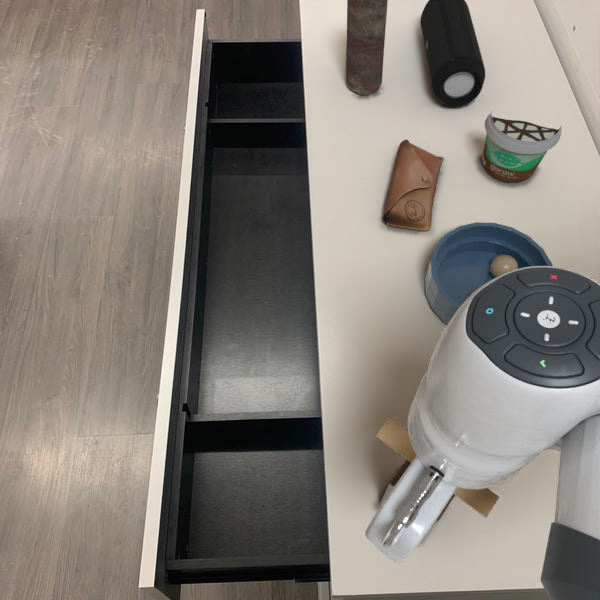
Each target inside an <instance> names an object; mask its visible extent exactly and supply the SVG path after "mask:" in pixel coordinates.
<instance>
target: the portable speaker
mask: <svg viewBox="0 0 600 600" xmlns="http://www.w3.org/2000/svg"><path fill="white" fill-rule="evenodd" d="M419 20H420V21H419V22H420V23H419V24H420V29H421V33H422V38H423V45H424V50H425V56H426V61H427V67H428V71H429V77H430V84H431V90H432V93H433V95H434V96H435V97H436V98H437V99H438V100H439V101H440V102H441V103H442V104H443V105H445V106H447V107H454V108H456V107H457V108H459V107H464V106H466V105H468V104H470V103H471V102H473V101H474V100H475V99H477V98H478V96H479V95H480V94H481V92H482V90H483V86H484V84H485V80H486V68H485V64H484V60H483V56H482V53H481V48H480V46H479V41H478V38H477V34H476V30H475V26H474V23H473V20H472V16H471V12H470V8H469V5H468V4H467V2H466V0H428V1H427V2H426V4H425V6H424V8H423V10H422V12H421V16H420V19H419Z"/></svg>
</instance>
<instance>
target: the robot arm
mask: <svg viewBox="0 0 600 600" xmlns="http://www.w3.org/2000/svg"><path fill="white" fill-rule="evenodd" d="M407 414H408V415H407V431H408V434H409V439H410V442H411V445H412V447H413V450H414V452H415V453H416V455H417V456H416V457H415V458H414V460H413V461H412V463H411V464H410V465H409V467H408V468H407V470H406V471H405V472H404V474H403V475H402V476H401V478H400V479H399V481H398V482H397V483H396V485H395V486H394V488H393V489H392V490H391V492H390V493H389V495H388V496H387V498H386V499H385V500H384V502H383V503H382V505H380V506H379V508H378V509H377V510H376V513H374V516H373V517H372V519H371V521H370V523H369V524H368V526H366V527H367V528H366V529H365V533H364V534H365V538H366V539H367V541H369V542H370V543H371V544H372V545H373V546H374V547H375V548H376V549H378V550H379V551H380V552H381V553H382V554H383V555H385V556H386V557H387V558H388V559H390V560H391V561H392V562H393V563H395V564H402V563H404V561H406V559H407V558H408V557H410V555H411V554H412V553H413V552H414V551H415V550H416V548H417V547H418V546H419V545H420V544H421V543H422V541H424V539H425V537H426V536H427V535H428V533H429V531H430V530H432V529H431V528H433V527H434V525H433V524H434V523H435V521H436V520H437V518H438V517H439V515H440V513H441V512H442V510H443V509H444V507H445V506H446V504H447V503H448V501H449V500H450V498H451V497H452V495H453V494H454V492H455V491H456V489H457V488H458V487H460V488H465V489H485V488H488V489H489V488H493V487H496V486H498V485H500V484H502V483H504V482H506V481H507V480H508V479H510V478H511V477H512V476H514V475H515V474H516V473H517V472H519V471H520V470H521V469H523V468H524V467H525V466H527V465H528V464H529V463H530V462H533V460H534V459H535V458H536V457H537V456H538V455H539V454H540V453H542V452H543V451H546V450H554V451H559V452H560V455H559V456H560V457H559V467H558V468H559V469H558V477H557V478H558V479H557V490H556V499H555V511H554V522H551V523H550V528H549V533H548V537H547V544H546V549H545V554H544V558H543V559H544V560H543V565H542V569H541V570H542V571H541V575H540V583H541V584H542V587H543V589H544V591H545V593H546V595H547V597H548V599H549V600H600V282H598V281H597V280H596V279H593V278H592V277H589V276H587V275H585V274H583V273H580V272H577V271H574V270H571V269H568V268H562V267H556V266H553V267H551V266H531V267H524V268H520V269H516V270H512V271H509V272H507V273H504V274H502V275H500V276H498V277H496V278H494V279H492V280H490V281H488V282H487V283H485V284H484V285H482V286H481V287H479V288H478V289H477V290H476V291H474V292H473V293H472V294H471V295H470V296H469V297H468V298H467V299H466V300H465V301H464V303H463V304H462V305H461V306H460V307H459V309H458V310H457V312H456V313H455V314H454V316H453V317H452V318H451V320H450V322H449V323H448V325H447V324H446V326H445V328H444V329H443V331H442V333H441V335H440V336H439V338H438V341H437V343H436V345H435V347H434V350H433V351H432V354H431V356H430V360H429V362H428V368H427V370H426V372H425V373H424V375H423V377H422V378H421V380H420V382H419V386H418V388H417V390H416V393H415V395H414V397H413V400H412V402H411V405H410V407H409V411H408V413H407Z"/></svg>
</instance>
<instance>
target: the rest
mask: <svg viewBox="0 0 600 600" xmlns="http://www.w3.org/2000/svg"><path fill="white" fill-rule="evenodd" d="M410 464H411V462H410V461H408V460H407V459H405V461H404V462H403V464H401V466H400V468H399V469H398V471H396V473H395V474H394V476H393V477H392V478H391V480H390V482H389V483H388V485H387V488H386V490H385V492H384V494H383V496H382V498H381V500H380V503H379V505H380V506H381V505H382V503H383V502H384V500H385V499H386V498H387V496H388V495H389V493H390V492H391V490H392V489H393V488H394V486H395V485H396V483H397V482H398V481H399V479H400V478H401V476H402V475H403V474H404V472H405V471H406V470H407V468H408V467H409V465H410ZM455 497H456V496H455V495H454V494H453V495H452V497H451V498H450V500H449V501H448V503H447V504H446V506H445V507H444V509H443V510H442V512H441V513H440V515H439V517H438V518H437V520H436V521H435V523H434V524H433V526H435V525H436V524H437V523H438V522H439V521H440V520H441V518H442V516H443V515H444V514H445V512H446V511H447V509H448V508H449V506H450V505H451V503H452V501H453V500H454V498H455Z"/></svg>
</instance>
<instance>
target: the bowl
mask: <svg viewBox="0 0 600 600" xmlns="http://www.w3.org/2000/svg"><path fill="white" fill-rule="evenodd" d="M500 255H509V256H511V257H513V258H514V259H515V260H516V261H517V264H518V269H520V268H524V267H531V266H551V267H554V266H553V262H552V261H551V259H550V258H549V256H548V254H547V253H546V251H545V249H544V248H543V247H542V246H541V245H539V244H538V243H537V242H536V241H535V240H534V239H533V238H532V237H531V236H529V235H528V234H526V233H523V232H522V231H520V230H518V229H516V228H514V227H512V226H508V225H505V224H501V223H497V222H482V221H481V222H479V221H478V222H477V221H476V222H472V223H467V224H463V225H459V226H457V227H455V228H454V229H452V230H450V231H448V232H446V233H445V234H444V235H443V236H442V237H441V238H440V239H439V241H438V242H437V243H436V244H435V246H434V248H433V251H432V254H431V257H430V261H429V264H428V268H427V271H426V274H425V278H424V286H425V287H424V288H425V296H426V298H427V300H428V303H429V305H430V307H431V309H432V311H433V312H434V313H435V314H436V315H437V316H438V317H439V319H441V321H442V322H443V323H444V324H445V325H446V326H447V325H448V323H449V322H450V320H451V318H452V317H453V316H454V314H455V313H456V312H457V310H458V309H459V307H460V306H461V305H462V304H463V303H464V301H465V300H466V299H467V298H468V297H469V296H470V295H471V293H472V292H473V291H475V290H476V289H478V288H479V287H481V286H482V285H484V284H485V283H487V282H488V281H490V280H492V279H494V277H493V275H492V274H491V271H490V265H491V262H492V261H493V260H494V259H495V258H496V257H497V256H500Z"/></svg>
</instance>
